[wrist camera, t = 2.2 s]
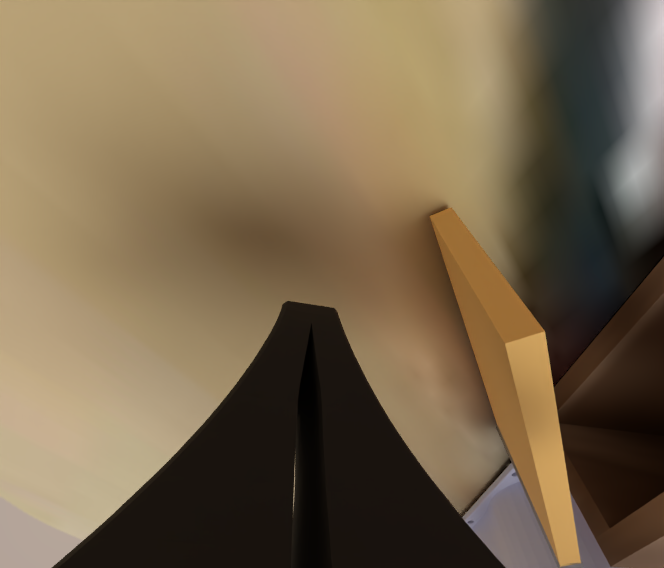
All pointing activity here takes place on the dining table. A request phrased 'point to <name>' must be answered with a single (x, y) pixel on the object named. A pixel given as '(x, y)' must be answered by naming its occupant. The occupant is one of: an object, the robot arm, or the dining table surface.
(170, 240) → the dining table surface
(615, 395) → the cabinet
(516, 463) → the cabinet door
